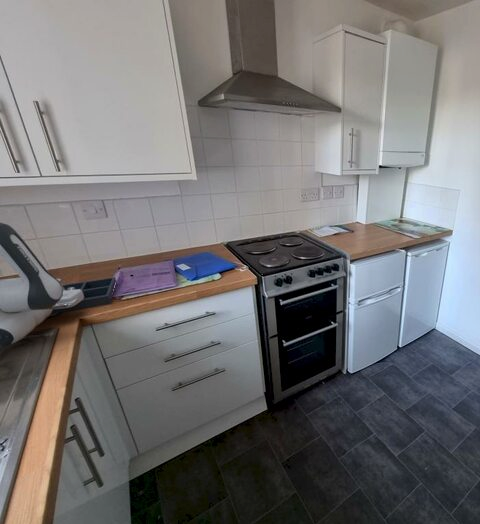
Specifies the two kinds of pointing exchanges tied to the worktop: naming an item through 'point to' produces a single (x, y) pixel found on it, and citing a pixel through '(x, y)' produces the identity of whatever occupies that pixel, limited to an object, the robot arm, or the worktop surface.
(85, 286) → the grid
